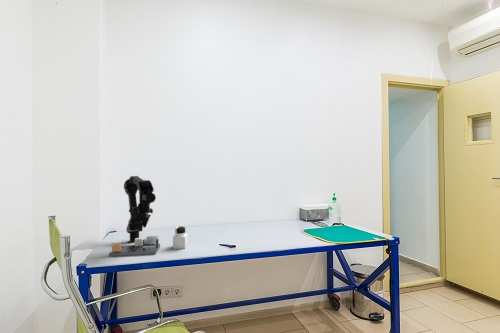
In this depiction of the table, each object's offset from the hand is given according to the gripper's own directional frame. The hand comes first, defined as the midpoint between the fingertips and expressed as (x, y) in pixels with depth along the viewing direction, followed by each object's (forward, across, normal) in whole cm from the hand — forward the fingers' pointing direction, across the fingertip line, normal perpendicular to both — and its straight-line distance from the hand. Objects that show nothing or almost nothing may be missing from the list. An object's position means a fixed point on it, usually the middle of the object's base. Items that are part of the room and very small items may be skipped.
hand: (144, 227), depth 163 cm
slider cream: (+10, +3, -3) cm, 11 cm away
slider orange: (+10, +12, -12) cm, 20 cm away
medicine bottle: (+12, +3, +21) cm, 24 cm away
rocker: (+7, +8, +5) cm, 12 cm away
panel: (+12, +8, -3) cm, 15 cm away
